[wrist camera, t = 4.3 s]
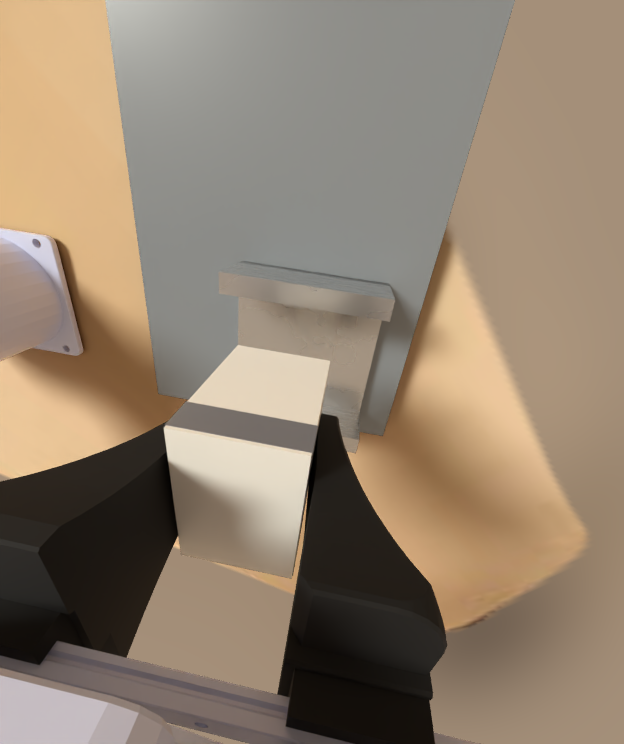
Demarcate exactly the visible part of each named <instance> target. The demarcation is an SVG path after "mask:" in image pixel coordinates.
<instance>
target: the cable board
mask: <svg viewBox="0 0 624 744" xmlns="http://www.w3.org/2000/svg"><path fill="white" fill-rule="evenodd" d="M105 2H106V9H107V16H108V24H109V31H110V39H111V46H112V54H113V61H114V68H115V76H116V83H117V91H118V98H119V105H120V113H121V120H122V128H123V135H124V143H125V150H126V157H127V165H128V172H129V180H130V187H131V194H132V202H133V209H134V217H135V224H136V231H137V239H138V246H139V254H140V261H141V269H142V276H143V283H144V291H145V298H146V306H147V313H148V320H149V328H150V335H151V343H152V350H153V358H154V365H155V372H156V380H157V387H158V394H161V395H166V396H171V397H177V398H182V399H188V400H189V399H190V398H191V397H192V396H193V395H194V393H195V392H196V391H197V390H198V389H199V388H200V387H201V386H202V384H203V383H204V382H205V381H206V380H207V379H208V378H209V377H210V376H211V374H212V373H213V372H214V371H215V370H216V369H217V368H218V367H219V365H220V364H221V363H222V362H223V361H224V360H225V359H226V358H227V357H228V355H229V354H230V353H231V352H232V351H233V350H234V349H235V348H236V347H237V345H238V303H239V297H237V296H231V295H225V294H219V271H221V270H223V269H225V268H228V267H230V266H232V265H234V264H236V263H239V262H241V261H248V262H255V263H261V264H268V265H274V266H280V267H287V268H293V269H299V270H306V271H312V272H318V273H325V274H331V275H337V276H344V277H350V278H357V279H363V280H369V281H376V282H382V283H388V284H390V287H391V290H392V292H393V295H394V298H395V303H394V307H393V311H392V315H391V319H390V322H389V321H383V320H382V322H381V326H380V330H379V334H378V338H377V342H376V346H375V350H374V354H373V358H372V363H371V367H370V371H369V375H368V379H367V383H366V387H365V391H364V395H363V399H362V403H361V408H360V412H359V432H364V433H369V434H374V435H380V436H383V434H384V431H385V427H386V424H387V421H388V417H389V414H390V411H391V407H392V404H393V401H394V398H395V394H396V391H397V388H398V384H399V381H400V378H401V374H402V371H403V368H404V365H405V361H406V358H407V355H408V351H409V348H410V345H411V341H412V338H413V335H414V332H415V328H416V325H417V322H418V318H419V315H420V312H421V309H422V305H423V302H424V299H425V295H426V292H427V289H428V285H429V282H430V279H431V276H432V272H433V269H434V266H435V262H436V259H437V256H438V252H439V249H440V246H441V243H442V239H443V236H444V233H445V229H446V226H447V223H448V220H449V216H450V213H451V210H452V206H453V203H454V200H455V196H456V193H457V190H458V187H459V183H460V180H461V177H462V173H463V170H464V167H465V163H466V160H467V157H468V154H469V150H470V147H471V143H472V140H473V137H474V134H475V130H476V127H477V124H478V120H479V117H480V114H481V110H482V107H483V104H484V101H485V97H486V94H487V91H488V88H489V84H490V81H491V78H492V74H493V71H494V68H495V65H496V61H497V57H498V55H499V51H500V48H501V45H502V41H503V38H504V35H505V31H506V28H507V25H508V21H509V18H510V15H511V12H512V8H513V5H514V2H515V0H105Z"/></svg>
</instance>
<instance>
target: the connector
mask: <svg viewBox="0 0 624 744" xmlns="http://www.w3.org/2000/svg"><path fill="white" fill-rule="evenodd" d="M329 366H330V361H328V360H323V359H317V358H311V357H305V356H299V355H293V354H287V353H282V352H276V351H270V350H264V349H258V348H252V347H246V346H241V345H237V347H236V348H235V349H234V350H233V351H232V352H231V353H230V354H229V355H228V357H227V358H226V359H225V360H224V361H223V362H222V363H221V364H220V365H219V367H218V368H217V369H216V370H215V371H214V372H213V373H212V374H211V376H210V377H209V378H208V379H207V380H206V381H205V382H204V383H203V384H202V386H201V387H200V388H199V389H198V390H197V391H196V392H195V393H194V395H193V396H192V397H191V398H190V399H189V400H188V401H186V402H185V403H184V404H183V405H182V406H181V407H180V408H179V410H178V411H177V412H176V413H175V414H174V415H173V416H172V417H171V418H170V420H169V421H168V422H167V423H166V424H165V427H164V434H165V442H166V449H167V456H168V464H169V471H170V478H171V486H172V493H173V500H174V508H175V515H176V522H177V530H178V537H179V544H180V552H181V555H185V556H190V557H194V558H199V559H203V560H208V561H213V562H217V563H222V564H226V565H231V566H235V567H240V568H245V569H249V570H254V571H258V572H263V573H268V574H272V575H277V576H281V577H286V578H291V579H292V576H293V572H294V567H295V561H296V556H297V550H298V545H299V539H300V533H301V527H302V521H303V515H304V510H305V504H306V499H307V494H308V486H309V480H310V474H311V468H312V462H313V456H314V450H315V444H316V438H317V432H318V426H319V421H320V417H321V413H322V408H323V402H324V396H325V390H326V384H327V378H328V372H329Z"/></svg>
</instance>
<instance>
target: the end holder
mask: <svg viewBox="0 0 624 744" xmlns="http://www.w3.org/2000/svg"><path fill="white" fill-rule="evenodd" d="M219 294H225V295H231V296H237V297H239V303H238V345H241V346H246V347H252V348H258V349H264V350H270V351H276V352H282V353H287V354H293V355H299V356H305V357H311V358H317V359H323V360H328V361H330V366H329V372H328V378H327V384H326V390H325V396H324V402H323V408H322V414H327V415H333V416H337V418H338V419H339V426H340V431H341V435H342V439H343V442H344V445H345V448H346V451H347V452H352V453H356V450H357V447H358V443H359V412H360V408H361V403H362V399H363V395H364V391H365V387H366V383H367V379H368V375H369V371H370V367H371V363H372V358H373V354H374V350H375V346H376V342H377V338H378V334H379V330H380V326H381V322H382V320H383V321H389V322H390V319H391V315H392V311H393V307H394V303H395V298H394V295H393V292H392V290H391V287H390V284H388V283H382V282H376V281H369V280H363V279H357V278H350V277H344V276H337V275H331V274H325V273H318V272H312V271H306V270H299V269H293V268H287V267H280V266H274V265H268V264H261V263H255V262H248V261H241V262H239V263H236V264H234V265H232V266H230V267H228V268H225V269H223V270H221V271H219Z"/></svg>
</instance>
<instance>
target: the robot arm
mask: <svg viewBox="0 0 624 744" xmlns="http://www.w3.org/2000/svg"><path fill="white" fill-rule="evenodd" d="M38 241H39V242H40V244H41V245H40V244H39V242H38ZM68 347H69V348H68ZM30 348H35V349H41V350H46V351H52V352H57V353H63V354H68V355H74V356H78V355H80V354H82V353H83V346H82V342H81V338H80V334H79V330H78V326H77V322H76V319H75V315H74V311H73V307H72V303H71V299H70V295H69V291H68V287H67V283H66V279H65V275H64V271H63V267H62V263H61V259H60V255H59V251H58V247H57V244H56V242H55V240H54V239H53V238H52V237H50V236H48V235H42V234H36V233H30V232H23V231H17V230H11V229H5V228H0V361H2V360H5V359H7V358H9V357H12V356H14V355H16V354H19V353H21V352H23V351H26V350H28V349H30ZM167 422H168V421H167ZM167 422H165V423H163V424H161V425H159V426H158V427H156V428H154V429H152V430H150V431H148V432H146V433H144V434H142V435H140V436H138V437H136V438H134V439H132V440H129V441H127V442H125V443H122V444H120V445H118V446H115V447H113V448H110V449H108V450H105V451H102V452H100V453H97V454H94V455H91V456H89V457H86V458H83V459H80V460H78V461H74V462H71V463H68V464H65V465H62V466H59V467H55V468H52V469H48V470H45V471H41V472H38V473H34V474H30V475H27V476H23V477H18V478H14V479H10V480H6V481H2V482H0V744H222V743H219V742H217V741H214V740H211V739H209V738H206V737H203V736H200V735H198V734H195V733H192V732H189V731H187V730H184V729H181V728H178V727H175V726H172V725H169V724H167V723H171V724H175V725H179V726H182V727H187V728H190V729H194V730H198V731H202V732H206V733H210V734H214V735H218V736H222V737H226V738H230V739H233V740H238V741H241V742H245V743H249V744H478V743H474V742H471V741H466V740H462V739H458V738H454V737H450V736H446V735H442V734H438V733H434V732H433V724H432V717H431V710H430V703H429V700H431V699H432V697H433V691H432V684H431V677H430V671H431V670H432V669H433V667H434V666H435V665H436V663H437V662H438V661H439V659H440V658H441V657H442V655H443V654H444V652H445V649H446V647H447V641H446V634H445V628H444V624H443V620H442V617H441V613H440V610H439V607H438V604H437V601H436V598H435V595H434V592H433V589H432V586H431V584H430V583H429V582H428V581H427V580H426V578H425V577H424V576H423V575H422V574H421V573H420V571H419V570H418V569H417V568H416V567H415V566H414V565H413V563H412V562H411V561H410V560H409V559H408V557H407V556H406V555H405V553H404V552H403V551H402V549H401V548H400V547H399V546H398V544H397V543H396V542H395V540H394V539H393V537H392V536H391V534H390V533H389V532H388V530H387V529H386V527H385V526H384V524H383V523H382V521H381V520H380V518H379V517H378V515H377V514H376V512H375V510H374V509H373V507H372V505H371V503H370V502H369V500H368V498H367V496H366V495H365V493H364V491H363V489H362V487H361V485H360V483H359V481H358V479H357V476H356V474H355V472H354V470H353V467H352V465H351V462H350V460H349V457H348V454H347V451H346V448H345V445H344V442H343V439H342V435H341V431H340V426H339V419H338V418H337V416H333V415H327V414H322V413H321V417H320V421H319V426H318V432H317V438H316V444H315V450H314V456H313V462H312V468H311V474H310V480H309V486H308V498H307V509H306V521H305V533H304V541H303V549H302V555H301V560H300V566H299V572H298V578H297V584H296V590H295V595H294V601H293V607H292V613H291V619H290V625H289V630H288V636H287V642H286V648H285V654H284V659H283V665H282V671H281V677H280V682H279V688H278V694H273V693H269V692H265V691H261V690H257V689H252V688H249V687H244V686H240V685H236V684H232V683H228V682H224V681H220V680H216V679H212V678H208V677H203V676H199V675H195V674H191V673H187V672H183V671H179V670H175V669H171V668H166V667H162V666H158V665H154V664H150V663H146V662H141V661H138V660H134V659H129V658H126V657H127V655H128V652H129V649H130V647H131V644H132V642H133V639H134V637H135V634H136V632H137V629H138V627H139V624H140V622H141V619H142V617H143V614H144V611H145V609H146V607H147V605H148V602H149V600H150V597H151V595H152V593H153V590H154V588H155V585H156V583H157V581H158V579H159V576H160V574H161V572H162V570H163V567H164V565H165V563H166V560H167V558H168V556H169V554H170V552H171V549H172V547H173V545H174V543H175V541H176V539H177V537H178V530H177V522H176V515H175V508H174V500H173V493H172V486H171V478H170V471H169V464H168V456H167V449H166V442H165V434H164V427H165V424H166V423H167ZM166 722H167V723H166Z"/></svg>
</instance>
